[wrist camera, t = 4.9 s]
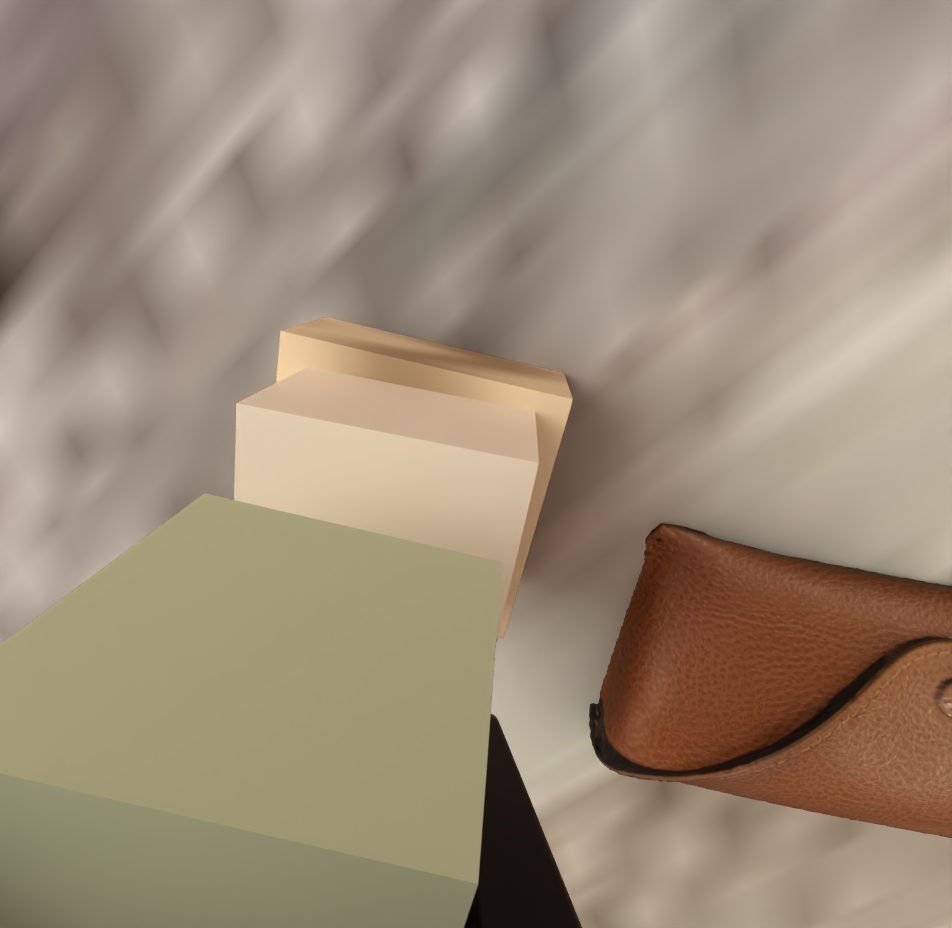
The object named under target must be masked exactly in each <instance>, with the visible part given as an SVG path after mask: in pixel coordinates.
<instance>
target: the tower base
mask: <svg viewBox="0 0 952 928" xmlns="http://www.w3.org/2000/svg"><path fill="white" fill-rule="evenodd" d="M306 367H312V368H317V369H322V370H327V371H332V372H337V373H342V374H347V375H352V376H357V377H362V378H367V379H373V380H378V381H383V382H388V383H393V384H398V385H403V386H408V387H413V388H418V389H423V390H428V391H433V392H438V393H443V394H449V395H454V396H459V397H464V398H469V399H474V400H479V401H484V402H489V403H494V404H499V405H504V406H509V407H514V408H519V409H525V410H530V411H535V417H536V430H537V443H538V456H539V465H538V470H537V474H536V478H535V482H534V486H533V491H532V495H531V499H530V503H529V507H528V512H527V516H526V520H525V524H524V528H523V532H522V537H521V541H520V545H519V549H518V553H517V558H516V562H515V566H514V570H513V574H512V579H511V583H510V587H509V591H508V595H507V600H506V604H505V608H504V612H503V616H502V620H501V625H500V629H499V633H498V637H501V638H504V635H505V632H506V628H507V625H508V621H509V618H510V614H511V611H512V607H513V604H514V601H515V597H516V594H517V590H518V587H519V583H520V580H521V576H522V573H523V570H524V566H525V563H526V559H527V556H528V552H529V549H530V546H531V542H532V539H533V535H534V532H535V528H536V525H537V521H538V518H539V515H540V511H541V508H542V504H543V501H544V497H545V494H546V491H547V487H548V484H549V480H550V477H551V473H552V470H553V466H554V463H555V460H556V456H557V453H558V449H559V446H560V442H561V439H562V436H563V432H564V429H565V425H566V422H567V418H568V415H569V411H570V408H571V405H572V401H573V398H572V395H571V392H570V389H569V386H568V383H567V381H566V378H565V375H564V373H562V372H558V371H554V370H550V369H545V368H541V367H537V366H532V365H528V364H524V363H520V362H515V361H511V360H507V359H503V358H498V357H494V356H490V355H486V354H481V353H477V352H473V351H469V350H464V349H460V348H456V347H451V346H447V345H443V344H439V343H434V342H430V341H426V340H422V339H417V338H413V337H409V336H405V335H400V334H396V333H392V332H387V331H383V330H379V329H375V328H370V327H366V326H362V325H358V324H353V323H349V322H345V321H341V320H336V319H332V318H328V317H324V318H321V319H318V320H314V321H311V322H308V323H305V324H301V325H298V326H295V327H292V328H288V329H285V330H282V331H281V333H280V344H279V356H278V367H277V379H276V383H277V382H279V381H281V380H283V379H285V378H287V377H289V376H291V375H293V374H295V373H296V372H298V371H300V370H302V369H304V368H306Z"/></svg>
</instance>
